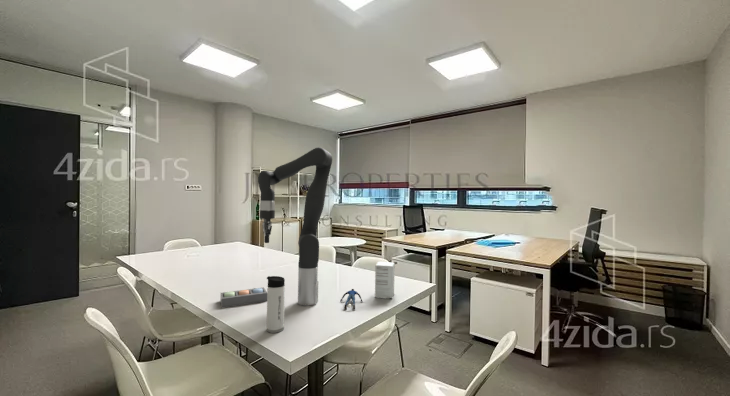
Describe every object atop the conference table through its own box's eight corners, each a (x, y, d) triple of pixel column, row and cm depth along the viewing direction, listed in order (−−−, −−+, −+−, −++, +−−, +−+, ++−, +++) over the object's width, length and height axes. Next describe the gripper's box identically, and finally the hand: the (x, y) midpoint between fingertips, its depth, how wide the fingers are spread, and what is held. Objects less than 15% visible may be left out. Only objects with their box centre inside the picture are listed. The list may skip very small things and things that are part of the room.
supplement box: (377, 292, 158) (377, 261, 158) (394, 293, 156) (394, 262, 157) (374, 297, 149) (375, 264, 149) (392, 299, 147) (393, 265, 147)
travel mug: (267, 326, 113) (269, 274, 114) (285, 325, 114) (286, 274, 114) (263, 333, 107) (264, 279, 107) (282, 333, 108) (283, 278, 108)
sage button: (234, 298, 141) (234, 291, 141) (235, 301, 137) (235, 293, 137) (223, 299, 139) (223, 292, 139) (224, 302, 135) (224, 295, 135)
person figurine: (361, 314, 131) (363, 296, 149) (361, 305, 131) (363, 287, 148) (337, 313, 132) (342, 295, 149) (337, 304, 131) (342, 287, 149)
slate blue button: (261, 294, 147) (262, 287, 147) (263, 297, 143) (263, 290, 143) (252, 295, 145) (252, 288, 145) (253, 298, 141) (253, 291, 141)
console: (263, 295, 150) (263, 287, 150) (267, 301, 141) (267, 292, 141) (220, 301, 140) (220, 292, 140) (221, 307, 132) (221, 298, 132)
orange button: (248, 296, 144) (248, 289, 144) (249, 299, 140) (249, 291, 140) (238, 297, 142) (238, 290, 142) (239, 300, 138) (239, 293, 138)
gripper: (257, 209, 155) (257, 241, 155) (262, 209, 144) (261, 244, 143) (272, 209, 159) (271, 240, 159) (277, 209, 147) (276, 244, 147)
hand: (266, 242), depth 151 cm, fingers closed
